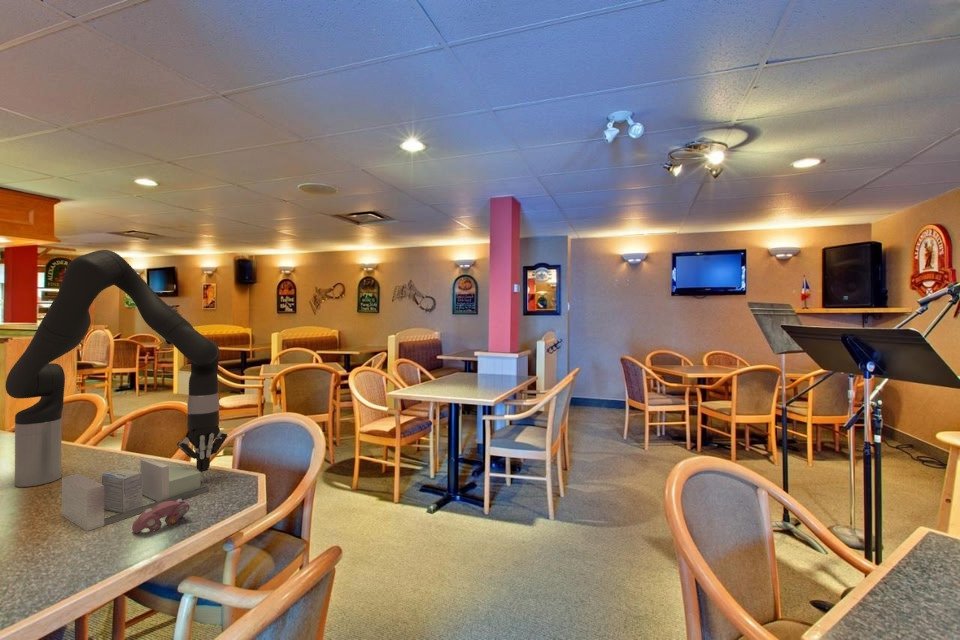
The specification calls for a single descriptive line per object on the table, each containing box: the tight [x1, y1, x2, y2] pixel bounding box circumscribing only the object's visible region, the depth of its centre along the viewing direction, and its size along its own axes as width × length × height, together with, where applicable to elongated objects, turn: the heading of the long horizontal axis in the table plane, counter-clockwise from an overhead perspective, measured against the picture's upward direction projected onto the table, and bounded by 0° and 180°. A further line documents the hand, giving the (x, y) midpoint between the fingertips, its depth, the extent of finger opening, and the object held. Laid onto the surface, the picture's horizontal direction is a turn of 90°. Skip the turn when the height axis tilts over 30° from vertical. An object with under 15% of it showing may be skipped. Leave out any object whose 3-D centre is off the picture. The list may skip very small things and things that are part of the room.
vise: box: [61, 472, 210, 532], centre depth 108 cm, size 15×26×9 cm, turn 150°
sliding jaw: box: [139, 457, 201, 502], centre depth 114 cm, size 12×9×9 cm
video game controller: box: [131, 499, 191, 534], centre depth 96 cm, size 10×5×7 cm, turn 149°
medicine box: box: [101, 468, 144, 514], centre depth 105 cm, size 8×4×9 cm, turn 71°
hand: (202, 470), depth 121 cm, fingers closed
